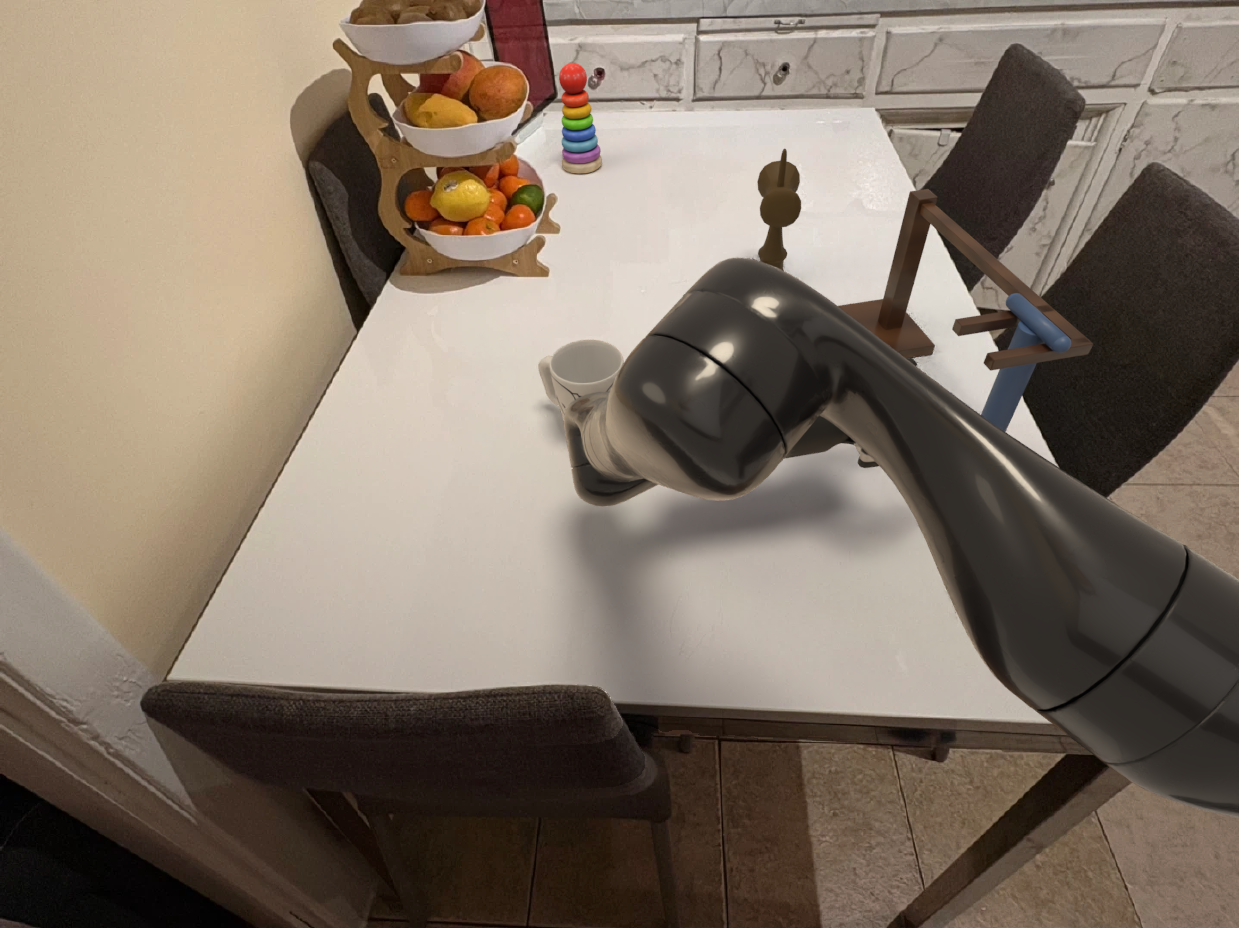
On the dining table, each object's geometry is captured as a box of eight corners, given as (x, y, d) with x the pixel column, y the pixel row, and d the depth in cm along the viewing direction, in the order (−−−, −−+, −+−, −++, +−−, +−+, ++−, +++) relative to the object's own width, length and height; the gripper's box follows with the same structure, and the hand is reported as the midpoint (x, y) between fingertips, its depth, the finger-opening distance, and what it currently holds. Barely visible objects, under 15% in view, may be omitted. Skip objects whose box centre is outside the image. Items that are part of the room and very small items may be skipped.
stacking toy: (573, 156, 147) (563, 54, 134) (608, 161, 144) (603, 57, 131) (555, 172, 142) (544, 67, 129) (592, 177, 139) (584, 71, 126)
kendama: (788, 265, 113) (805, 134, 99) (790, 298, 107) (810, 163, 93) (749, 264, 114) (761, 134, 100) (749, 297, 107) (762, 163, 93)
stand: (1043, 484, 79) (1125, 333, 65) (936, 504, 78) (996, 354, 64) (891, 305, 104) (926, 169, 90) (808, 318, 103) (831, 182, 89)
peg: (984, 482, 75) (1046, 345, 63) (942, 428, 81) (991, 293, 69) (1023, 475, 75) (1092, 337, 63) (978, 421, 81) (1034, 286, 69)
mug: (525, 425, 90) (513, 360, 82) (566, 388, 94) (558, 323, 87) (600, 459, 85) (595, 393, 78) (640, 418, 89) (637, 352, 82)
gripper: (809, 441, 61) (986, 411, 63) (754, 344, 71) (909, 321, 73) (797, 501, 66) (961, 471, 68) (748, 403, 76) (892, 379, 78)
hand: (934, 393), depth 71 cm, fingers open, 8 cm apart
